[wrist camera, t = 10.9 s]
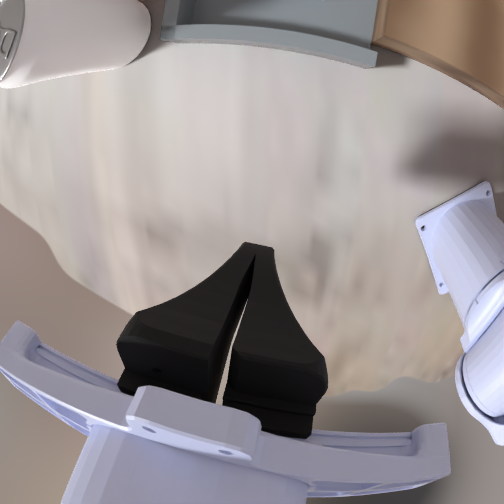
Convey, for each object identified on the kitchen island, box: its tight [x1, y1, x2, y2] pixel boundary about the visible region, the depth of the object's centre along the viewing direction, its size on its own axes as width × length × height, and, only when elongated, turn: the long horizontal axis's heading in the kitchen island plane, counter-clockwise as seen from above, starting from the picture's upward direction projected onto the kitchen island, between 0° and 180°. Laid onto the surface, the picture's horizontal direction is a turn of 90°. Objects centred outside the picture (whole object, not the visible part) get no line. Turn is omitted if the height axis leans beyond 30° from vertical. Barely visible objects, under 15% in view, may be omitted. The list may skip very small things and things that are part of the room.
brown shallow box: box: [371, 0, 504, 109], centre depth 9 cm, size 13×10×4 cm
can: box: [0, 0, 151, 89], centre depth 10 cm, size 6×6×12 cm
